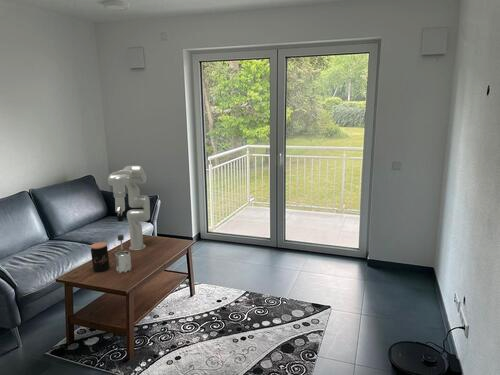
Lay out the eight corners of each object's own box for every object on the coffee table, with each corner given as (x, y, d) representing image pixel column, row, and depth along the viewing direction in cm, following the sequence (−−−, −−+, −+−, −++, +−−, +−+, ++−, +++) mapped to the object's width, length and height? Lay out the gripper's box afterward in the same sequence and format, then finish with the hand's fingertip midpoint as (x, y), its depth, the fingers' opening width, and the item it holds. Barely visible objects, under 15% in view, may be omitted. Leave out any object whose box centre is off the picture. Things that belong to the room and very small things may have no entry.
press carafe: (119, 266, 266) (117, 250, 264) (132, 264, 268) (131, 249, 265) (115, 273, 255) (113, 256, 252) (130, 272, 256) (128, 255, 254)
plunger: (118, 253, 261) (116, 234, 258) (128, 253, 261) (126, 233, 258) (116, 257, 254) (114, 237, 251) (126, 256, 255) (124, 236, 252)
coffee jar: (94, 273, 255) (91, 248, 251) (92, 268, 264) (89, 243, 260) (110, 270, 260) (107, 245, 256) (108, 264, 269) (105, 241, 265)
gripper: (116, 192, 260) (118, 216, 263) (111, 197, 243) (113, 223, 246) (127, 191, 261) (129, 215, 264) (123, 197, 244) (125, 222, 247)
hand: (121, 219), depth 255 cm, fingers open, 9 cm apart
